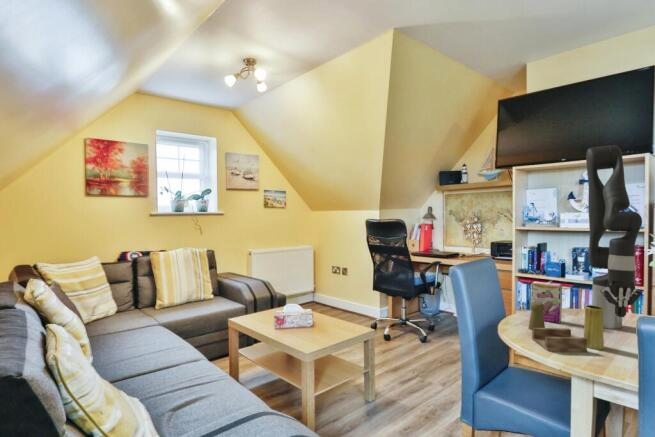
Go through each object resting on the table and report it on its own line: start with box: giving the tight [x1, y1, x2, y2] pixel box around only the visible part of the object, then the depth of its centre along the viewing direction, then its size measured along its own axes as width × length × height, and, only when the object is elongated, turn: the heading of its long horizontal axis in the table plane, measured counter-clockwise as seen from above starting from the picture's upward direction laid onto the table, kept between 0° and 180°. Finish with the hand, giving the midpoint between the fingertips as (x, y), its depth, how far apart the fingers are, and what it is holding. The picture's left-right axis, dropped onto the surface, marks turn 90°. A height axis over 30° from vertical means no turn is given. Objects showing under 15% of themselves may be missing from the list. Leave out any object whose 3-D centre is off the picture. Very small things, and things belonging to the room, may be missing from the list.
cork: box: [528, 302, 546, 331], centre depth 148 cm, size 6×6×11 cm
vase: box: [583, 304, 605, 351], centre depth 130 cm, size 6×6×14 cm
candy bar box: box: [530, 281, 563, 324], centre depth 160 cm, size 11×5×16 cm, turn 49°
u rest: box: [531, 327, 588, 353], centre depth 131 cm, size 13×11×4 cm
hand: (620, 316), depth 129 cm, fingers closed
